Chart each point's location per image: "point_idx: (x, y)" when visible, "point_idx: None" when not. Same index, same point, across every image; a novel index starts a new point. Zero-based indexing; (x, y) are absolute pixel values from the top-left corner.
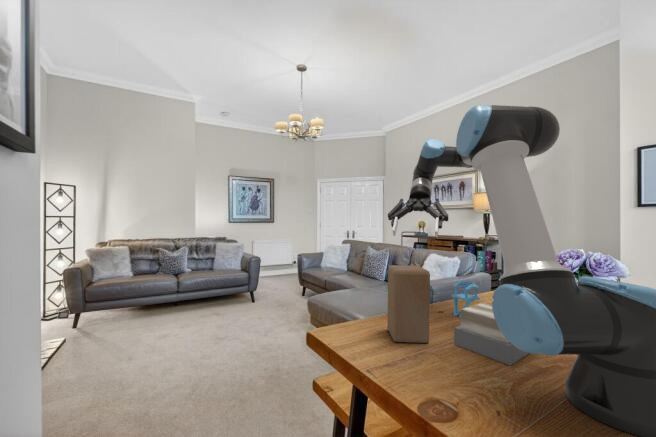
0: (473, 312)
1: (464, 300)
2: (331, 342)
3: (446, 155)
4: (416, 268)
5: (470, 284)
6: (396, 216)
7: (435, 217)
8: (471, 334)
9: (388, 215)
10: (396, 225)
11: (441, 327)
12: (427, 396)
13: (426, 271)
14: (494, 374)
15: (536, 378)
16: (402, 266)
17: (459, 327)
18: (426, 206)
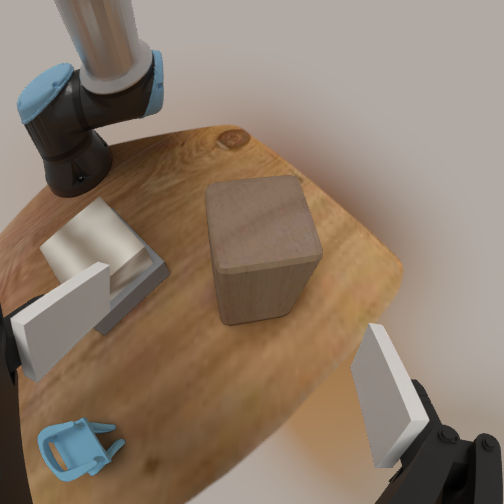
0: (128, 232)
1: (88, 423)
2: (366, 240)
3: None
4: (238, 205)
5: (50, 456)
6: (420, 445)
7: (13, 395)
8: (144, 242)
9: (486, 434)
10: (376, 387)
11: (171, 355)
12: (239, 151)
13: (215, 183)
14: (151, 197)
15: (109, 200)
16: (280, 230)
17: (154, 264)
18: (3, 501)
